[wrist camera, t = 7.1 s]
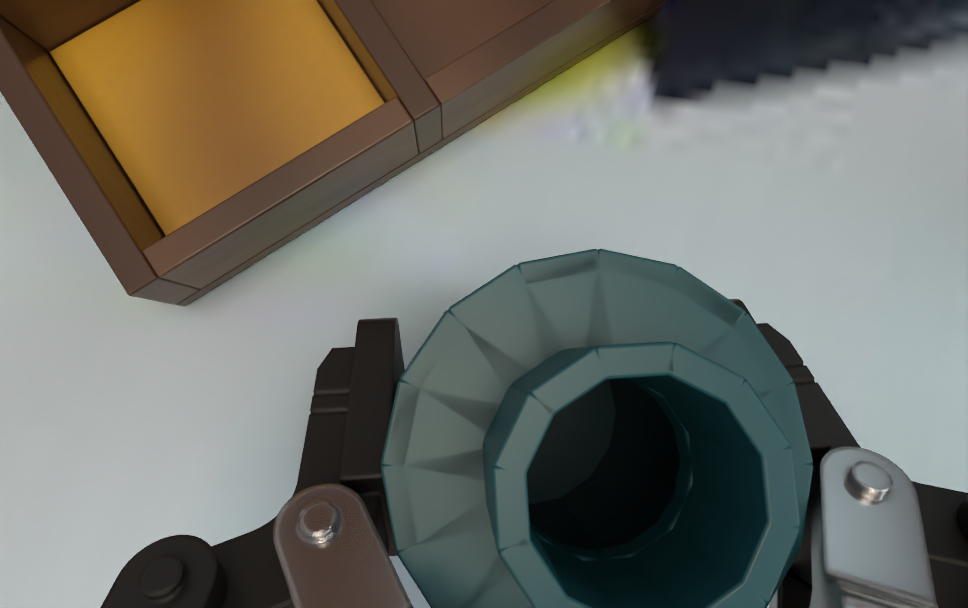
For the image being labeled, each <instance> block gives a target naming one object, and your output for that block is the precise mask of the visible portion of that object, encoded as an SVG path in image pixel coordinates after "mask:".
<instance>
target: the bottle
mask: <svg viewBox="0 0 968 608" xmlns="http://www.w3.org/2000/svg"><path fill="white" fill-rule="evenodd" d="M792 381H793V378H792V377H791V376H790V374H789V373H788V371H787V370H786V368H785V367H784V365H783V364H782V362H781V361H780V360H779V358H778V357H777V355H776V354H775V352H774V351H773V349H772V348H771V346H770V345H769V343H768V342H767V341H766V339H765V338H764V336H763V335H762V333H761V332H760V330H759V329H758V327H757V326H756V325H755V323H754V322H753V320H752V319H751V317H750V316H749V314H747V313H745V310H743V309H742V308H741V307H739V306H738V305H736V304H735V303H733V302H732V301H730V300H729V299H727V298H726V297H724V296H723V295H721V294H720V293H718V292H717V291H715V290H714V289H712V288H711V287H709V286H708V285H706V284H705V283H703V282H702V281H700V280H699V279H697V278H696V277H695V276H693V275H692V274H690V273H689V272H687V271H686V270H684V269H683V268H681V267H677V266H676V265H674V264H670V263H665V262H660V261H655V260H651V259H646V258H641V257H637V256H632V255H627V254H622V253H618V252H613V251H608V250H603V249H598V250H597V249H592V250H586V251H581V252H576V253H570V254H565V255H559V256H554V257H549V258H543V259H538V260H532V261H527V262H521V263H519V264H518V265H514V266H512V267H511V268H509V269H508V270H506V271H504V272H503V273H501V274H500V275H498V276H497V277H495V278H494V279H492V280H491V281H489V282H488V283H486V284H485V285H483V286H481V287H480V288H478V289H477V290H475V291H474V292H472V293H471V294H469V295H468V296H466V297H465V298H463V299H462V300H460V301H458V302H457V303H455V304H454V305H452V306H451V307H450V308H449V310H447V311H445V313H444V314H443V316H442V317H441V319H440V320H439V322H438V323H437V324H436V326H435V327H434V329H433V330H432V332H431V333H430V335H429V336H428V338H427V339H426V340H425V342H424V343H423V345H422V346H421V348H420V349H419V351H418V352H417V354H416V355H415V357H414V358H413V359H412V361H411V362H410V364H409V365H408V367H407V368H406V370H405V371H404V373H403V374H402V375H401V378H400V380H399V382H398V385H397V390H396V395H395V399H394V404H393V408H392V413H391V418H390V422H389V427H388V432H387V436H386V441H385V445H384V450H383V455H382V459H381V464H382V466H381V471H382V477H383V483H384V488H385V494H386V500H387V505H388V511H389V517H390V522H391V528H392V533H393V539H394V545H395V549H396V551H398V552H397V554H398V557H399V558H400V560H401V561H402V563H403V565H404V566H405V568H406V569H407V571H408V572H409V574H410V576H411V577H412V579H413V580H414V582H415V583H416V585H417V586H418V588H419V590H420V591H421V593H422V594H423V596H424V597H425V599H426V601H427V602H428V604H429V605H430V607H431V608H767V606H768V604H769V603H770V601H771V599H772V598H773V596H774V594H775V593H776V591H777V589H778V587H779V586H780V584H781V582H782V581H783V579H784V577H785V576H786V574H787V572H788V570H789V569H790V567H791V565H792V564H793V562H794V560H795V558H796V557H797V555H798V553H799V552H800V549H799V548H801V546H802V540H803V533H804V526H805V519H806V513H807V506H808V499H809V492H810V485H811V479H812V472H813V465H812V463H813V459H812V455H811V451H810V446H809V442H808V438H807V434H806V429H805V425H804V421H803V416H802V412H801V408H800V403H799V399H798V395H797V391H796V386H795V383H794V382H792Z"/></svg>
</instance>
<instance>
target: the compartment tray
mask: <svg viewBox="0 0 968 608" xmlns="http://www.w3.org/2000/svg"><path fill="white" fill-rule="evenodd" d="M664 1H665V0H0V92H1V93H2V95H3V96H4V98H5V100H6V101H7V103H8V104H9V106H10V108H11V109H12V111H13V112H14V114H15V115H16V117H17V119H18V120H19V122H20V123H21V125H22V127H23V128H24V130H25V131H26V133H27V135H28V136H29V138H30V139H31V141H32V143H33V144H34V146H35V147H36V149H37V150H38V152H39V154H40V155H41V157H42V158H43V160H44V162H45V163H46V165H47V166H48V168H49V170H50V171H51V173H52V174H53V176H54V178H55V179H56V181H57V182H58V184H59V186H60V187H61V189H62V190H63V192H64V193H65V195H66V197H67V198H68V200H69V201H70V203H71V205H72V206H73V208H74V209H75V211H76V213H77V214H78V216H79V217H80V219H81V221H82V222H83V224H84V225H85V227H86V228H87V230H88V232H89V233H90V235H91V236H92V238H93V240H94V241H95V243H96V244H97V246H98V248H99V249H100V251H101V252H102V254H103V256H104V257H105V259H106V260H107V262H108V264H109V265H110V267H111V268H112V270H113V271H114V273H115V275H116V276H117V278H118V279H119V281H120V283H121V284H122V286H123V287H124V289H125V291H126V292H127V294H128V295H129V296H134V297H139V298H144V299H149V300H154V301H159V302H164V303H169V304H176V305H179V306H186V305H188V304H190V303H191V302H193V301H194V300H196V299H198V298H199V297H201V296H202V295H204V294H206V293H207V292H209V291H210V290H212V289H214V288H215V287H217V286H218V285H220V284H222V283H223V282H225V281H227V280H228V279H230V278H231V277H233V276H235V275H236V274H238V273H239V272H241V271H243V270H244V269H246V268H247V267H249V266H251V265H252V264H254V263H256V262H257V261H259V260H260V259H262V258H264V257H265V256H267V255H268V254H270V253H272V252H273V251H275V250H276V249H278V248H280V247H281V246H283V245H285V244H286V243H288V242H289V241H291V240H293V239H294V238H296V237H297V236H299V235H301V234H302V233H304V232H305V231H307V230H309V229H310V228H312V227H313V226H315V225H317V224H318V223H320V222H322V221H323V220H325V219H326V218H328V217H330V216H331V215H333V214H334V213H336V212H338V211H339V210H341V209H342V208H344V207H346V206H347V205H349V204H351V203H352V202H354V201H355V200H357V199H359V198H360V197H362V196H363V195H365V194H367V193H368V192H370V191H371V190H373V189H375V188H376V187H378V186H380V185H381V184H383V183H384V182H386V181H388V180H389V179H391V178H392V177H394V176H396V175H397V174H399V173H400V172H402V171H404V170H405V169H407V168H408V167H410V166H412V165H413V164H415V163H417V162H418V161H420V160H421V159H423V158H425V157H426V156H428V155H429V154H431V153H433V152H434V151H436V150H437V149H439V148H441V147H442V146H444V145H446V144H447V143H449V142H450V141H452V140H454V139H455V138H457V137H458V136H460V135H462V134H463V133H465V132H466V131H468V130H470V129H471V128H473V127H475V126H476V125H478V124H479V123H481V122H483V121H484V120H486V119H487V118H489V117H491V116H492V115H494V114H495V113H497V112H499V111H500V110H502V109H503V108H505V107H507V106H508V105H510V104H512V103H513V102H515V101H516V100H518V99H520V98H521V97H523V96H524V95H526V94H528V93H529V92H531V91H532V90H534V89H536V88H537V87H539V86H541V85H542V84H544V83H545V82H547V81H549V80H550V79H552V78H553V77H555V76H557V75H558V74H560V73H561V72H563V71H565V70H566V69H568V68H570V67H571V66H573V65H574V64H576V63H578V62H579V61H581V60H582V59H584V58H586V57H587V56H589V55H590V54H592V53H594V52H595V51H597V50H598V49H600V48H602V47H603V46H605V45H607V44H608V43H610V42H611V41H613V40H615V39H616V38H618V37H619V36H621V35H623V34H624V33H626V32H627V31H629V30H631V29H632V28H634V27H636V26H637V25H639V24H640V23H642V22H644V21H645V20H647V19H648V18H650V17H652V16H653V15H655V14H656V13H658V12H659V11H660V9H661V7H662V6H663V4H664Z"/></svg>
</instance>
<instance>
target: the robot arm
mask: <svg viewBox="0 0 968 608" xmlns="http://www.w3.org/2000/svg"><path fill="white" fill-rule="evenodd" d="M729 300H730V301H732V302H733V303H735V304H736V305H738V306H739V307H741V308H742V309H743V310H745V313H747V314H749V316H750V317H751V319H752V320H753V322H754V323H755V325H756V326H757V327H758V329H759V330H760V332H761V333H762V335H763V336H764V338H765V339H766V341H767V342H768V343H769V345H770V346H771V348H772V349H773V351H774V352H775V354H776V355H777V357H778V358H779V360H780V361H781V362H782V364H783V365H784V367H785V368H786V370H787V371H788V373H789V374H790V376H791V377H792V378H793V381H792V382H794V383H795V386H796V391H797V395H798V399H799V403H800V408H801V412H802V416H803V421H804V425H805V429H806V434H807V438H808V442H809V446H810V451H811V455H812V459H813V463H812V465H813V472H812V479H811V485H810V492H809V499H808V506H807V513H806V519H805V526H804V533H803V540H802V546H801V548H799V549H800V552H799V553H798V555H797V557H796V558H795V560H794V562H793V564H792V565H791V567H790V569H789V570H788V572H787V574H786V576H785V577H784V579H783V581H782V582H781V584H780V586H779V587H778V589H777V591H776V593H775V594H774V596H773V598H772V599H771V601H770V603H769V608H968V493H965V492H960V491H955V490H950V489H945V488H940V487H935V486H930V485H925V484H921V483H917V482H913V481H911V480H910V479H909V477H908V476H907V475H906V474H905V473H904V472H903V470H902V469H900V468H899V467H898V466H897V465H896V464H894V463H893V462H892V461H890V460H889V459H887V458H885V457H884V456H882V455H880V454H878V453H875V452H873V451H870V450H867V449H864V448H861V447H860V446H859V445H858V443H857V442H856V440H855V439H854V437H853V436H852V434H851V433H850V431H849V430H848V428H847V427H846V425H845V424H844V422H843V421H842V419H841V418H840V416H839V415H838V413H837V412H836V410H835V409H834V407H833V406H832V404H831V403H830V401H829V400H828V398H827V397H826V395H825V394H824V392H823V391H822V389H821V387H820V386H819V384H818V383H815V382H814V377H813V375H812V374H811V372H810V371H809V369H808V368H807V366H804V365H803V360H802V359H801V357H800V356H799V354H798V353H797V351H796V350H795V348H794V347H793V345H792V344H791V342H790V341H789V340H788V339H787V338H785V337H784V336H783V335H782V334H780V333H779V332H778V331H776V330H775V329H774V328H773V327H771V326H770V325H769V324H768V323H763V324H756V322H755V321H754V319H753V317H752V316H751V314H750V313H749V311H748V309H747V308H746V306H745V305H744V303H743V302H742V301H741V300H739V299H729ZM404 371H405V370H404V362H403V355H402V347H401V339H400V332H399V324H398V319H397V318H382V319H364V320H359V321H358V325H357V333H356V342H355V347H346V348H332V349H331V351H330V352H329V354H328V355H327V356H326V358H325V359H324V361H323V362H322V363H321V365H320V366H319V367H318V369H317V375H316V381H315V386H314V396H313V397H312V403H311V409H310V411H311V414H310V415H309V420H308V426H307V431H306V437H305V442H304V448H303V454H302V459H301V465H300V470H299V476H298V482H297V486H296V489H295V492H294V494H293V496H292V498H291V499H290V500H289V501H288V502H286V504H285V505H284V506H283V507H282V509H281V510H280V512H279V514H278V515H277V516H276V517H275V518H274V519H272V520H271V521H270V522H268V523H267V524H265V525H264V526H262V527H260V528H258V529H256V530H254V531H251V532H249V533H246V534H244V535H241V536H238V537H236V538H233V539H230V540H228V541H225V542H222V543H220V544H217V545H214V546H212V547H211V546H210V545H209V544H208V543H207V542H206V541H204V540H202V539H201V538H198V537H195V536H191V535H175V536H170V537H166V538H163V539H160V540H158V541H156V542H154V543H152V544H150V545H148V546H147V547H145V548H144V549H142V550H141V551H140V552H138V553H137V554H136V555H135V556H134V557H133V558H132V559H131V560H129V561H128V563H127V564H126V565H125V566H124V568H123V569H122V570H121V572H120V573H119V575H118V577H117V578H116V580H115V582H114V584H113V586H112V588H111V589H110V591H109V593H108V595H107V597H106V599H105V601H104V602H103V604H102V606H101V608H413V606H412V604H411V602H410V600H409V598H408V596H407V594H406V592H405V590H404V587H403V585H402V583H401V581H400V579H399V577H398V575H397V572H396V570H395V568H394V566H393V564H392V562H391V560H390V557H389V556H398V554H397V552H398V551H396V549H395V545H394V539H393V533H392V528H391V522H390V517H389V511H388V505H387V500H386V494H385V488H384V483H383V477H382V471H381V466H382V464H381V459H382V455H383V450H384V445H385V441H386V436H387V432H388V427H389V422H390V418H391V413H392V408H393V404H394V399H395V395H396V390H397V385H398V382H399V380H400V378H401V375H402V374H403V373H404Z"/></svg>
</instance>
